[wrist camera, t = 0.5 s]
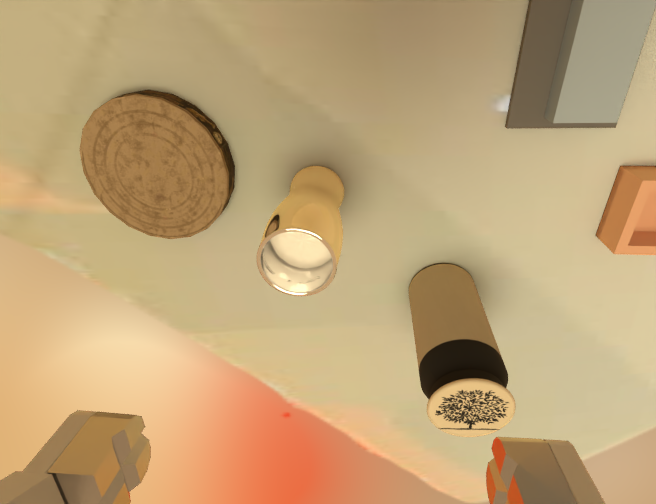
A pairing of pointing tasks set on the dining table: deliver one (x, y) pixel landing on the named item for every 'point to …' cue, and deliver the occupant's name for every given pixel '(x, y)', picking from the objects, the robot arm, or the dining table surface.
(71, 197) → the dining table surface
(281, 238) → the beer glass
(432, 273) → the travel mug
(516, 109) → the mat
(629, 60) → the slate board
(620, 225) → the orange frame
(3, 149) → the dining table surface
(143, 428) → the robot arm
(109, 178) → the wood slice coaster
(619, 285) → the dining table surface
